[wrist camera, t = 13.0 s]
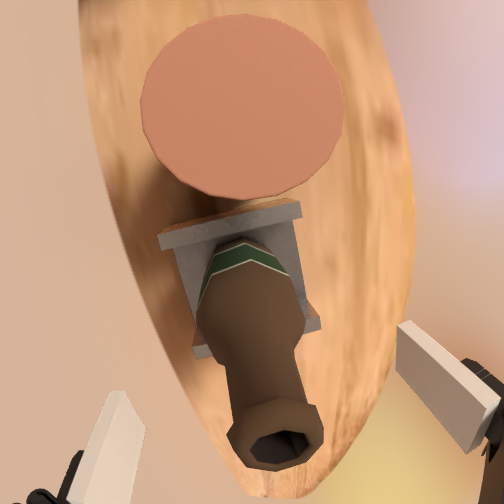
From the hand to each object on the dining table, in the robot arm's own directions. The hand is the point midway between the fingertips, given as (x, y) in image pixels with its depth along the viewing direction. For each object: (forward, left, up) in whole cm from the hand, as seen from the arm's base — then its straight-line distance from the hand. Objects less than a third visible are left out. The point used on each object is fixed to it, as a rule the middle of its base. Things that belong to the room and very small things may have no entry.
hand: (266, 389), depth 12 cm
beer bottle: (0, 0, -21) cm, 21 cm away
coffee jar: (-13, +2, -22) cm, 26 cm away
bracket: (0, 0, -22) cm, 22 cm away
